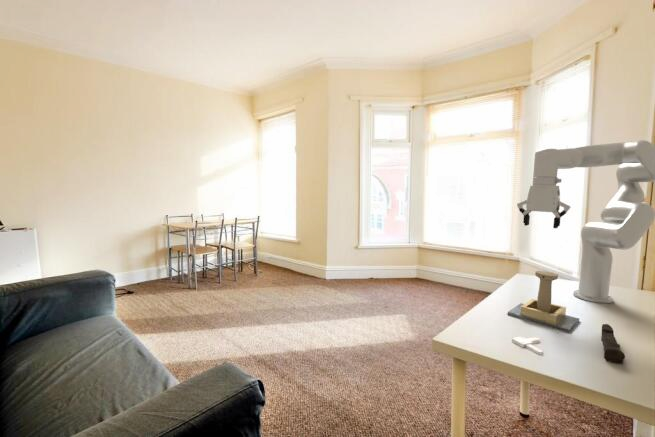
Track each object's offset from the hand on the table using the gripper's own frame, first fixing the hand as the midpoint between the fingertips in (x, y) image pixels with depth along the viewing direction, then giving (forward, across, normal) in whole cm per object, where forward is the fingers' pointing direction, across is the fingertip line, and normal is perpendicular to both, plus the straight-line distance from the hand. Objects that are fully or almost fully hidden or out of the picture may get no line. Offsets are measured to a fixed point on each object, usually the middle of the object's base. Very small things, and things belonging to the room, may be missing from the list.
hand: (540, 226), depth 122 cm
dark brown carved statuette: (+31, -25, +24) cm, 47 cm away
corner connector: (+31, -11, +39) cm, 51 cm away
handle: (+29, -7, +15) cm, 34 cm away
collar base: (+30, -7, +15) cm, 34 cm away
